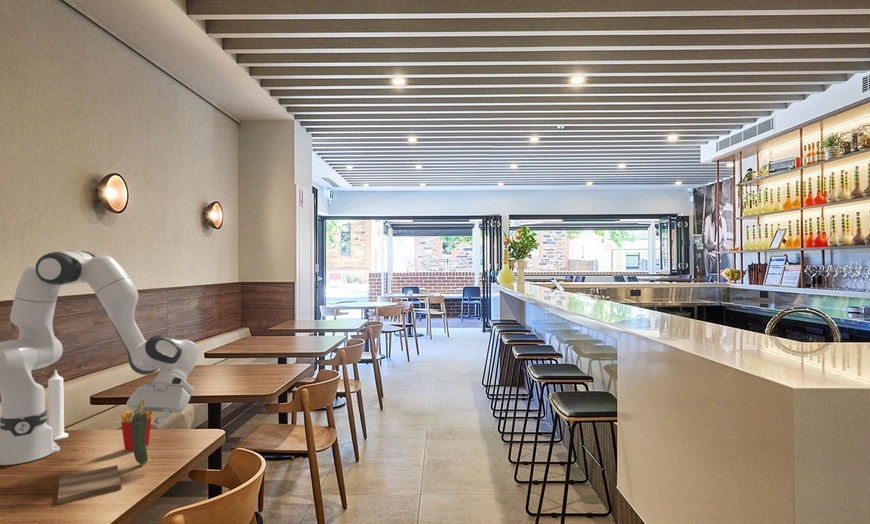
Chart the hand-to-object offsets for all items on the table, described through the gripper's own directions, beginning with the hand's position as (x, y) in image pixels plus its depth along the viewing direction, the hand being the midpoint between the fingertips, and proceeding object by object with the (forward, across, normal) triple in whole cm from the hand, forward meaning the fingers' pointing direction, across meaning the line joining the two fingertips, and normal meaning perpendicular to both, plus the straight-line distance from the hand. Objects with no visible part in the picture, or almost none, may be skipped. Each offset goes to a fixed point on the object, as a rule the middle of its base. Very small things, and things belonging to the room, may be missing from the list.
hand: (144, 422), depth 158 cm
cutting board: (+21, -2, -4) cm, 22 cm away
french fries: (+1, -14, +17) cm, 22 cm away
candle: (-1, -53, +19) cm, 56 cm away
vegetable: (+10, 0, +8) cm, 13 cm away
